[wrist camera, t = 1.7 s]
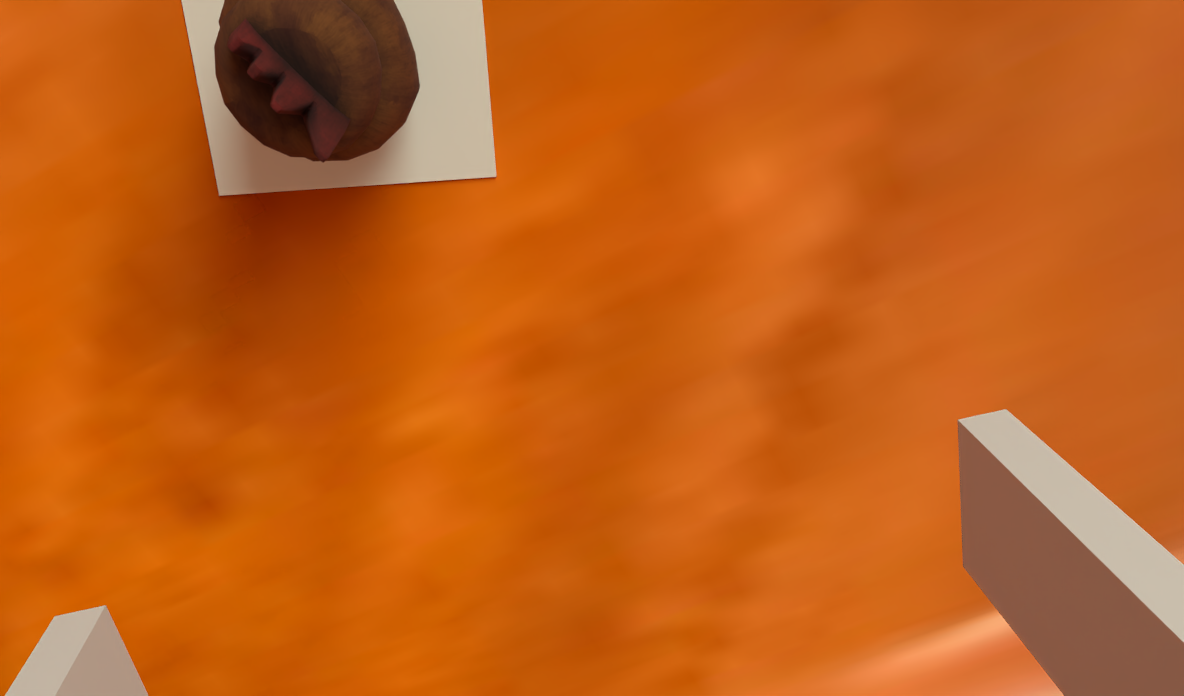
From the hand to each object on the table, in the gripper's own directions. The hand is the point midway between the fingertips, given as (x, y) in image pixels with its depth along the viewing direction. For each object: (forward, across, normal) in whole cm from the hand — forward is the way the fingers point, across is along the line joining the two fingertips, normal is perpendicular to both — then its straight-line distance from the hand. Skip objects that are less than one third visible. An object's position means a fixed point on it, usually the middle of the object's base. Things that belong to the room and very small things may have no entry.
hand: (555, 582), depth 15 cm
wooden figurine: (+27, -5, +7) cm, 29 cm away
